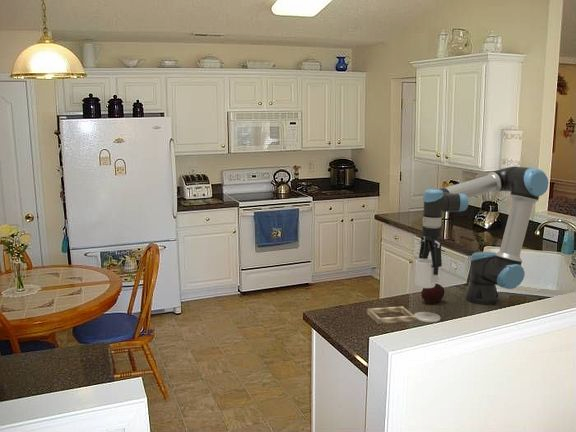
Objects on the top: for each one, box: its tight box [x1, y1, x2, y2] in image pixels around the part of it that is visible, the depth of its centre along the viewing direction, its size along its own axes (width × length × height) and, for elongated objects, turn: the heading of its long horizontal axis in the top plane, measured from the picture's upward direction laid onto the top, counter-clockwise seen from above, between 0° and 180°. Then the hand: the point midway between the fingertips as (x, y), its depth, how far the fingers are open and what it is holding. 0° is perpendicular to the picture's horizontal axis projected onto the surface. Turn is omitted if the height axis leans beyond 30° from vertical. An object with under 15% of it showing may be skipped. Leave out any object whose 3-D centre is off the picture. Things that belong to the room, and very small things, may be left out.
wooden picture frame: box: [366, 306, 417, 325], centre depth 236 cm, size 17×14×2 cm
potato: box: [421, 283, 446, 303], centre depth 255 cm, size 9×12×9 cm
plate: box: [413, 311, 441, 324], centre depth 235 cm, size 11×11×1 cm
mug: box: [414, 258, 443, 289], centre depth 232 cm, size 9×12×11 cm
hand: (429, 278), depth 233 cm, fingers closed on mug, 9 cm apart
